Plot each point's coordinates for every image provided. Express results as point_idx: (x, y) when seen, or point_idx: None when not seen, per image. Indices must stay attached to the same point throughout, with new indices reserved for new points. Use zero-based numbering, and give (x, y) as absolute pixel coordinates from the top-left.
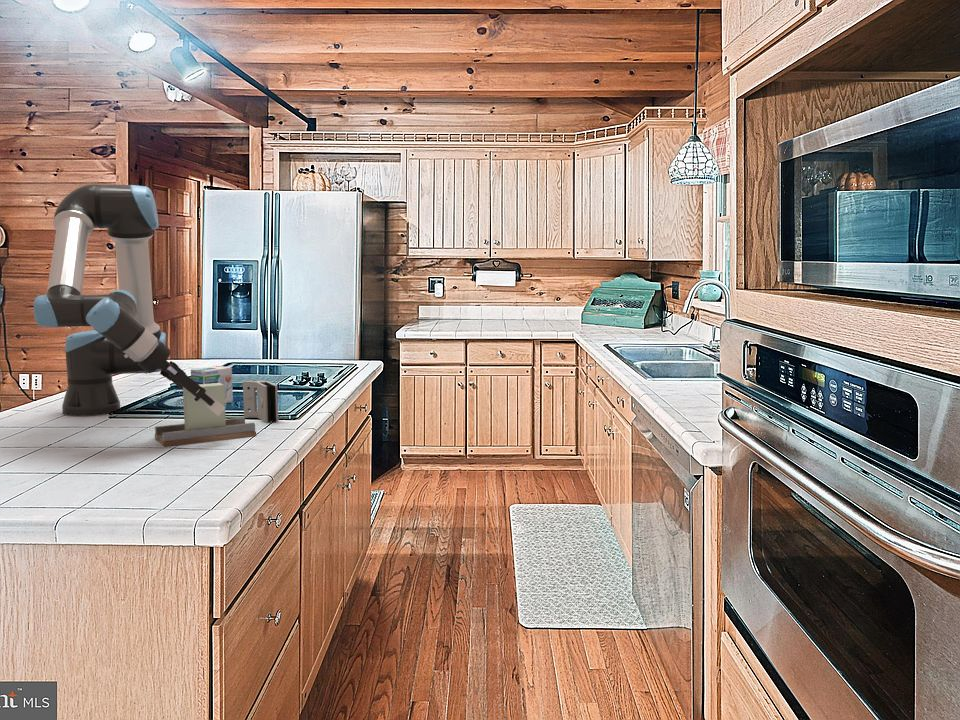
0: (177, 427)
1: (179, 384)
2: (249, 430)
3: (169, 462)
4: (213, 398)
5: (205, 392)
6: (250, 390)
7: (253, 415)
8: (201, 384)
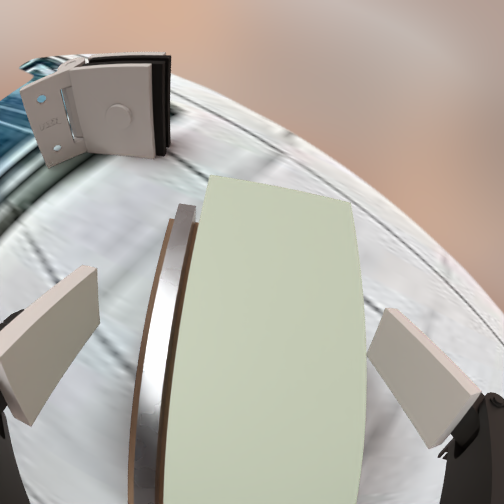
0: (156, 466)
1: (19, 487)
2: None
3: (440, 494)
4: (441, 356)
5: (474, 396)
6: (49, 101)
7: (73, 153)
8: (192, 359)
